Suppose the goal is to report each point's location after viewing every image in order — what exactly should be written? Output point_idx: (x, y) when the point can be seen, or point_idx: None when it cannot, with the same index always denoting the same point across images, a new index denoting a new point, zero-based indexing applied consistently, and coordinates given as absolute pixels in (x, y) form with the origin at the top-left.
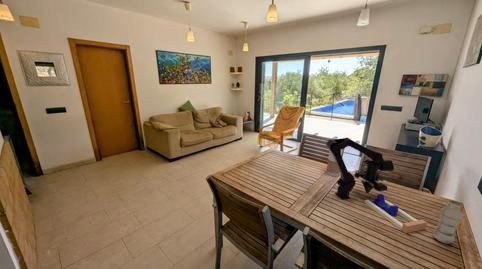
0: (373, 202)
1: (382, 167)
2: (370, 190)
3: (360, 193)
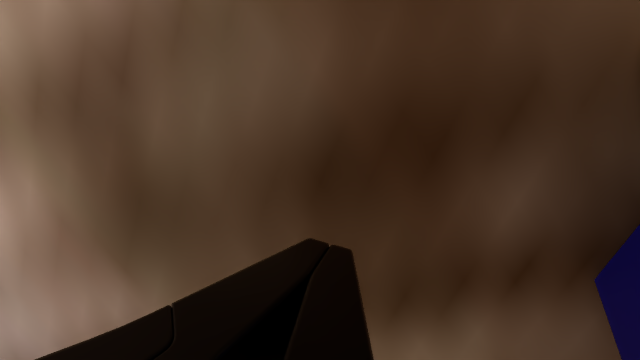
0: (603, 289)
1: None
2: (363, 334)
3: (198, 167)
